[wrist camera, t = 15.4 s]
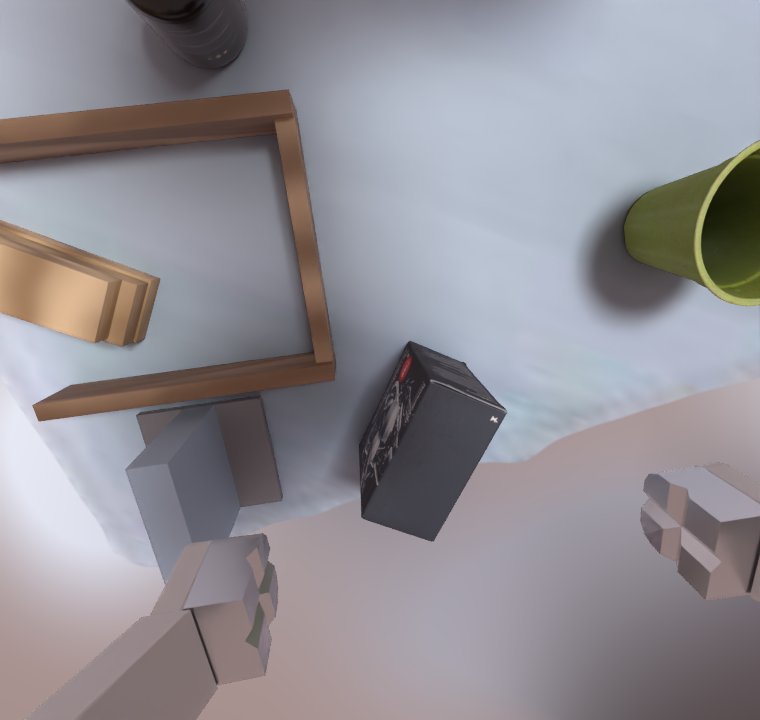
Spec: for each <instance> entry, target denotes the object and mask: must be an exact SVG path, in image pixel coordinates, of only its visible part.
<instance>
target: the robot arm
mask: <svg viewBox="0 0 760 720" xmlns="http://www.w3.org/2000/svg"><path fill="white" fill-rule="evenodd" d="M643 490H644V492H645V493H646V494H647V496H648V497H649V499H648V500H647V501H646V503H645V504H644V505H643V506H642V508H641V524H642V527H643V530H644V533H645V535H646V537H647V539H648V540H649V542H650V543H651V545H652V546H653V547H654V548H655V549H656V550H657V551H658V552H659V553H660V554H661V555H663V556H666V557H668V558H670V559H672V560H674V561H676V565H677V572H678V573H679V574H680V575H681V576H682V577H683V578H684V579H685V580H686V581H687V582H688V583H689V584H690V585H691V586H692V587H693V588H694V589H695V590H696V591H697V592H698V593H699V594H700V595H701V596H702V597H703V598H704V599H705V600H712V599H719V598H726V597H733V596H740V595H748V594H750V597H751V598H753V599H755V600H756V601H758V602H760V484H759V483H757V482H756V481H754V480H753V479H751V478H749V477H748V476H746V475H744V474H743V473H741V472H739V471H738V470H736V469H734V468H732V467H731V466H730V465H727V464H724V463H720V462H715V463H709V464H704V465H698V466H694V467H690V468H683V469H677V470H672V471H665V472H659V473H652V474H649V475H648V476H647V478H646V479H645V482H644V489H643ZM269 551H270V547H269V543H268V540H267V537H266V535H264V534H263V533H262V534H255V535H246V536H239V537H231V538H223V539H216V540H211V541H204V542H196V543H190V544H189V545H187V546H186V547H185V548H184V549H183V551H182V553H181V555H180V557H179V559H178V561H177V563H176V565H175V567H174V569H173V571H172V573H171V575H170V577H169V579H168V581H167V583H166V585H165V587H164V589H163V591H162V593H161V595H160V597H159V599H158V601H157V603H156V605H155V607H154V609H153V611H152V613H151V615H150V616H146V617H141V618H140V619H139V620H138V621H137V622H136V623H134V624H133V625H132V626H131V627H130V628H129V629H128V630H126V631H125V632H124V633H123V634H122V635H121V636H120V637H118V638H117V639H116V640H115V641H114V642H113V643H111V644H110V645H109V646H108V647H107V648H106V649H104V650H103V652H101V653H100V654H99V655H98V656H96V657H95V658H94V659H93V660H92V661H91V662H90V663H88V664H87V665H86V666H85V667H84V668H83V669H81V670H80V671H79V672H78V673H77V674H76V675H74V676H73V677H72V678H71V679H70V680H69V681H68V682H66V683H65V684H64V685H63V686H62V687H61V688H60V689H58V690H57V691H56V692H55V693H54V694H53V695H51V696H50V697H49V698H48V699H47V700H46V701H45V702H43V703H42V704H41V705H40V706H39V707H38V708H36V709H35V710H34V711H33V712H32V713H31V714H30V715H28V716H27V717H26V718H25V719H24V720H196V719H197V718H198V716H199V715H200V713H201V712H202V710H203V709H204V708H205V706H206V704H207V703H208V702H209V700H210V699H211V697H212V696H213V695H214V693H215V692H216V690H217V689H218V688H217V685H221V684H226V683H231V682H236V681H241V680H246V679H251V678H256V677H261V676H265V673H266V668H267V663H268V657H269V652H270V646H271V640H272V639H271V635H270V631H269V627H268V626H269V624H270V623H271V622H272V621H273V620H274V618H275V617H276V611H277V604H278V583H277V575H276V571H275V567H274V565H272V564H271V563H270V562H269V561H268V556H269Z"/></svg>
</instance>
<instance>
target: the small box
mask: <svg viewBox="0 0 760 720" xmlns="http://www.w3.org/2000/svg"><path fill="white" fill-rule="evenodd" d="M506 414H507V411H506V409H505V408H504V407H503V406H501V405H500V404H499V403H498V402H497V401H496V399H495V398H494V397H493V396H492V395H491V394H490V393H489V392H488V390H487V389H486V388H485V387H484V386H483V385H482V384H481V382H480V381H479V380H478V379H477V378H476V377H475V376H474V374H473V373H472V372H471V371H470V370H469V369H468V367H467V366H466V364H465V363H464V362H460V361H457V360H455V359H452V358H450V357H448V356H445V355H443V354H440V353H438V352H436V351H433V350H431V349H429V348H427V347H424V346H422V345H419V344H417V343H414V342H412V341H409V342H408V344H407V346H406V348H405V350H404V352H403V354H402V356H401V358H400V361H399V363H398V365H397V367H396V369H395V371H394V373H393V375H392V377H391V379H390V382H389V384H388V386H387V388H386V390H385V392H384V394H383V396H382V398H381V400H380V403H379V405H378V407H377V409H376V411H375V413H374V415H373V417H372V420H371V422H370V424H369V426H368V428H367V430H366V432H365V434H364V436H363V438H362V440H361V443H360V445H359V460H360V487H361V488H360V489H361V512H362V513H361V517H362V518H363V519H366V520H368V521H371V522H374V523H377V524H380V525H383V526H386V527H389V528H392V529H395V530H398V531H401V532H404V533H407V534H410V535H414V536H417V537H419V538H423V539H425V540H428V541H434V540H435V538H436V536H437V534H438V533H439V531H440V529H441V527H442V526H443V524H444V522H445V521H446V518H447V517H448V515H449V513H450V512H451V510H452V508H453V506H454V505H455V503H456V501H457V499H458V498H459V496H460V494H461V492H462V491H463V489H464V487H465V485H466V483H467V482H468V480H469V478H470V476H471V475H472V473H473V471H474V469H475V468H476V466H477V464H478V463H479V461H480V459H481V457H482V456H483V454H484V452H485V450H486V449H487V447H488V445H489V443H490V442H491V440H492V438H493V436H494V434H495V433H496V431H497V429H498V428H499V426H500V424H501V422H502V421H503V419H504V417H505V415H506Z"/></svg>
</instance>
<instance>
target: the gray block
mask: <svg viewBox="0 0 760 720" xmlns="http://www.w3.org/2000/svg"><path fill="white" fill-rule="evenodd" d="M125 470H126V473H127V476H128V479H129V482H130V485H131V488H132V491H133V493H134V496H135V499H136V502H137V505H138V508H139V511H140V514H141V516H142V519H143V522H144V525H145V528H146V531H147V534H148V537H149V539H150V542H151V545H152V548H153V551H154V554H155V557H156V560H157V562H158V565H159V568H160V571H161V574H162V577H163V579H164V583H165V585H166V583H167V581H168V579H169V577H170V575H171V573H172V571H173V569H174V567H175V565H176V563H177V561H178V559H179V557H180V555H181V553H182V551H183V549H184V548H185V547H186V546H187V545H189V544H190V543H196V542H204V541H211V540H216V539H223V538H229V535H230V533H231V530H232V528H233V525H234V522H235V520H236V517H237V515H238V512H239V510H240V503H239V499H238V495H237V491H236V487H235V484H234V480H233V476H232V472H231V468H230V464H229V460H228V457H227V453H226V449H225V445H224V441H223V437H222V433H221V430H220V426H219V422H218V418H217V414H216V410H215V406H214V405H208V406H200V407H193V408H186V409H183V410H182V411H181V412H180V413H179V414H178V415H177V416H176V417H175V418H174V419H173V420H172V421H171V422H170V423H169V424H168V425H167V427H166V428H165V429H164V430H163V431H162V432H161V433H160V434H159V435H158V436H157V437H156V438H155V439H154V440H153V441H152V442H151V443H150V444H149V445H148V446H147V447H146V449H145V450H144V451H143V452H142V453H141V454H140V455H139V456H138V457H137V458H136V459H135V460H134V461H133V462H132V463H131V464H130V465H129V466H128V467H127V468H126V469H125Z"/></svg>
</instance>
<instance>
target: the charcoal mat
mask: <svg viewBox="0 0 760 720" xmlns="http://www.w3.org/2000/svg"><path fill="white" fill-rule="evenodd" d="M208 405H214V406H215V410H216V414H217V418H218V422H219V426H220V430H221V433H222V437H223V441H224V445H225V449H226V453H227V457H228V460H229V464H230V468H231V472H232V476H233V480H234V484H235V487H236V491H237V495H238V499H239V503H240V507H244V506H251V505H257V504H264V503H270V502H277V501H282V498H283V494H282V490H281V485H280V481H279V476H278V472H277V467H276V463H275V458H274V454H273V449H272V444H271V440H270V435H269V431H268V426H267V422H266V417H265V413H264V408H263V404H262V399H261V396H254V397H247V398H239V399H232V400H225V401H218V402H211V403H204V404H197V405H189V406H182V407H175V408H168V409H161V410H154V411H147V412H140V413H139V414H138V415H136V417H137V420H138V423H139V426H140V429H141V432H142V435H143V439H144V442H145V445H146V447H147V446H148V445H149V444H150V443H151V442H152V441H153V440H154V439H155V438H156V437H157V436H158V435H159V434H160V433H161V432H162V431H163V430H164V429H165V428H166V427H167V425H168V424H169V423H170V422H171V421H172V420H173V419H174V418H175V417H176V416H177V415H178V414H179V413H180V412H181V411H182V410H183V409H186V408H193V407H200V406H208Z"/></svg>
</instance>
